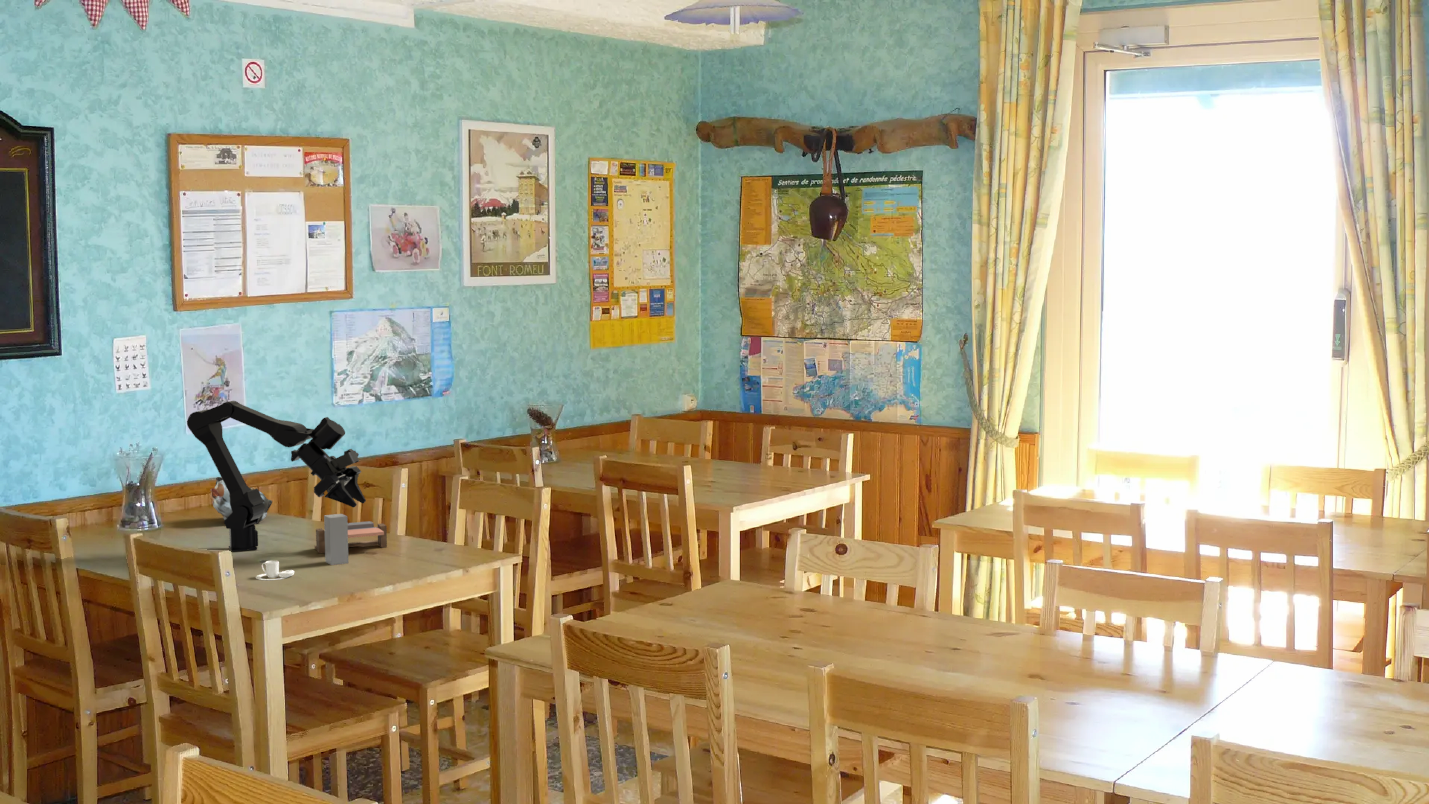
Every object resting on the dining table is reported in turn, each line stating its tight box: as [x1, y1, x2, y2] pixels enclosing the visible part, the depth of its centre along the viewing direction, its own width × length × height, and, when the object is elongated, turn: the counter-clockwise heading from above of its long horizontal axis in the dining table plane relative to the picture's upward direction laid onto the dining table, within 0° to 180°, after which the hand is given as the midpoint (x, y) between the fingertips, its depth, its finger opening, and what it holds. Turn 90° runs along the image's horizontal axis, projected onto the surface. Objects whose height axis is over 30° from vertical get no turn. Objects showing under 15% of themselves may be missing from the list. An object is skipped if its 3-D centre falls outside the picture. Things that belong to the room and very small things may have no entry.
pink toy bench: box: [314, 523, 388, 554], centre depth 358 cm, size 18×7×6 cm, turn 117°
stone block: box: [323, 513, 349, 566], centre depth 340 cm, size 4×4×12 cm
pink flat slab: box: [348, 520, 384, 539], centre depth 355 cm, size 14×11×3 cm
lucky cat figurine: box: [209, 476, 273, 525], centre depth 396 cm, size 17×14×16 cm
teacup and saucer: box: [255, 560, 295, 581], centre depth 324 cm, size 9×8×4 cm
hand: (360, 504), depth 351 cm, fingers open, 6 cm apart
